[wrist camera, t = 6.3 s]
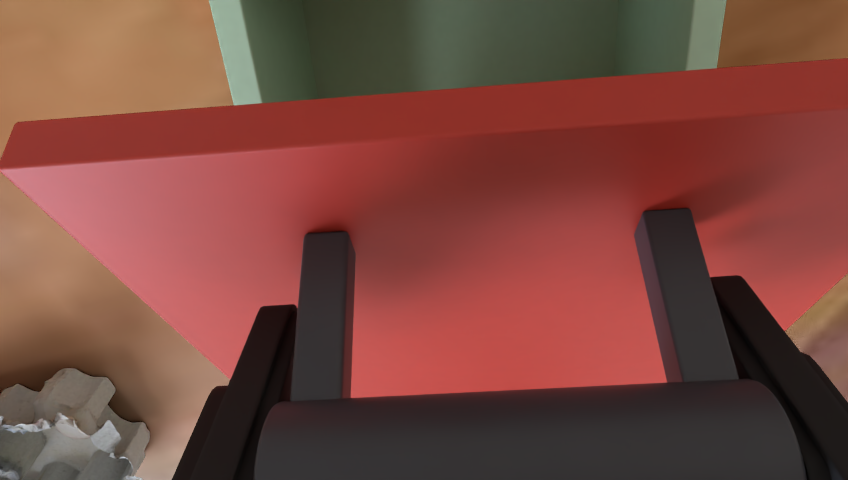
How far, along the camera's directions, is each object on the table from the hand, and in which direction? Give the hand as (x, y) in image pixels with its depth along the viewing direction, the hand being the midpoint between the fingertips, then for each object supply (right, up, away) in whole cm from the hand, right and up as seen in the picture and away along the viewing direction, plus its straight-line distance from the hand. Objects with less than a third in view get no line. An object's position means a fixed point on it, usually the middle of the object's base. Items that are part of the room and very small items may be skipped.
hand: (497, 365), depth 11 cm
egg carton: (-21, -8, +24) cm, 33 cm away
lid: (0, 0, +4) cm, 4 cm away
